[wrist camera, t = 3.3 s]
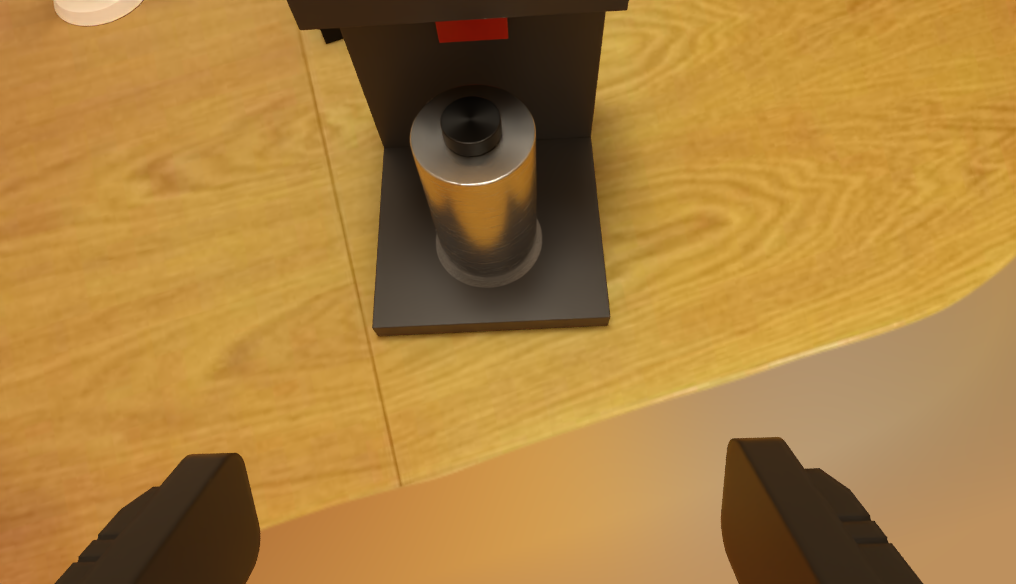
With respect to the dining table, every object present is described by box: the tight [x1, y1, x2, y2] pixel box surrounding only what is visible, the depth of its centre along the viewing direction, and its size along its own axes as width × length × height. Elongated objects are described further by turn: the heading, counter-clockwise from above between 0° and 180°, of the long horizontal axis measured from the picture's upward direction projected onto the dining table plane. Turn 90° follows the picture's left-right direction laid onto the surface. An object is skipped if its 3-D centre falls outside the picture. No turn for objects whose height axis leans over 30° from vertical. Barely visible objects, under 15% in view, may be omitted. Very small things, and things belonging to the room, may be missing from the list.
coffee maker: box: [287, 0, 629, 336], centre depth 35 cm, size 19×15×20 cm
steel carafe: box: [410, 84, 537, 282], centre depth 35 cm, size 6×6×12 cm
